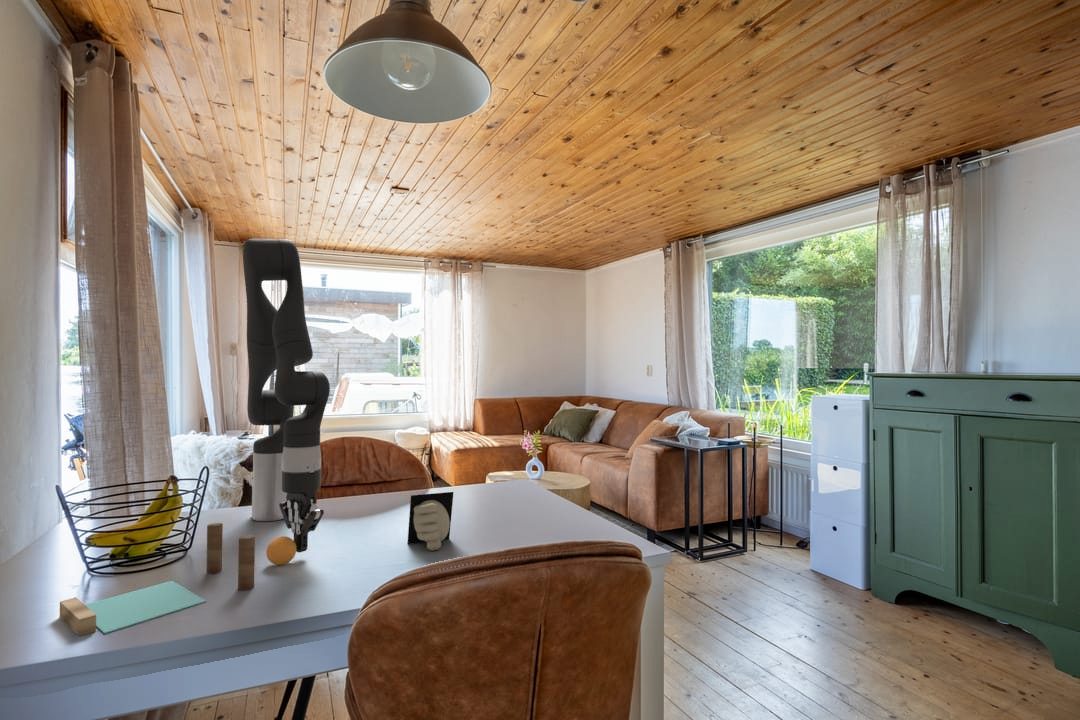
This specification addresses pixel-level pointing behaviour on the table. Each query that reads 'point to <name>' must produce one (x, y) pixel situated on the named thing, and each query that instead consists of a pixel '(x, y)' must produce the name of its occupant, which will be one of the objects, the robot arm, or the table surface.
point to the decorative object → (430, 519)
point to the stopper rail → (78, 616)
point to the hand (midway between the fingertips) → (300, 550)
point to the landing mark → (141, 605)
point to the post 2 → (246, 562)
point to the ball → (281, 550)
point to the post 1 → (214, 548)
